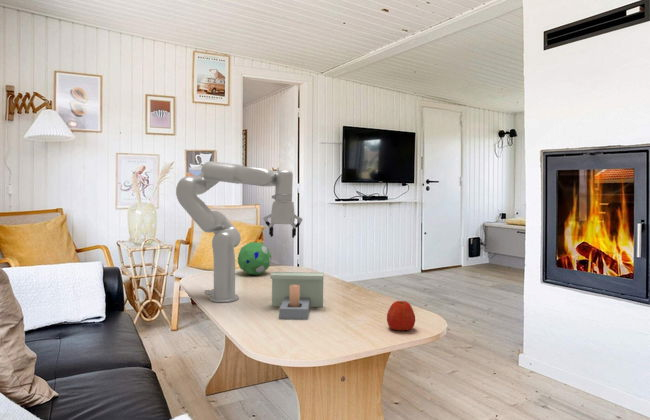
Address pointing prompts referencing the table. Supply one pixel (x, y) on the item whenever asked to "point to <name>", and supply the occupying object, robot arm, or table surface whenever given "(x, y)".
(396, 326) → the apple
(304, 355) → the table surface
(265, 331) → the table surface
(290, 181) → the robot arm
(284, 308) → the socket
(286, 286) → the pale green rectangular block
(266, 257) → the decorative sphere
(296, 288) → the peg
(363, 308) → the table surface
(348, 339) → the table surface
